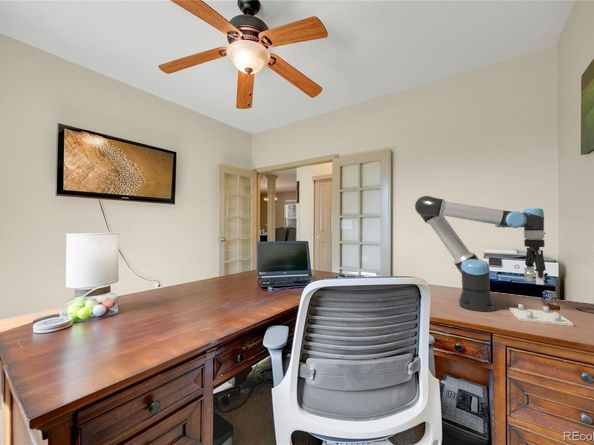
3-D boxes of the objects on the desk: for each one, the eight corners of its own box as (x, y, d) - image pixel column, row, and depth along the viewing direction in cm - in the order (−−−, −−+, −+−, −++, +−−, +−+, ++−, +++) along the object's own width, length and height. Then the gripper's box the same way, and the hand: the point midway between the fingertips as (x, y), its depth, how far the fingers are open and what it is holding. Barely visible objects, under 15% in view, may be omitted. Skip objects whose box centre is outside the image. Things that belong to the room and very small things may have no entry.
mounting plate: (519, 320, 113) (519, 312, 113) (509, 309, 127) (509, 302, 127) (573, 326, 105) (573, 317, 105) (556, 314, 119) (555, 306, 119)
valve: (519, 279, 138) (534, 284, 127) (519, 267, 138) (533, 271, 127) (534, 280, 137) (550, 285, 125) (534, 267, 137) (550, 271, 125)
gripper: (554, 240, 119) (555, 287, 119) (535, 238, 141) (535, 277, 140) (533, 240, 122) (534, 286, 122) (517, 237, 144) (518, 276, 144)
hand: (534, 281), depth 131 cm, fingers closed on valve, 12 cm apart
